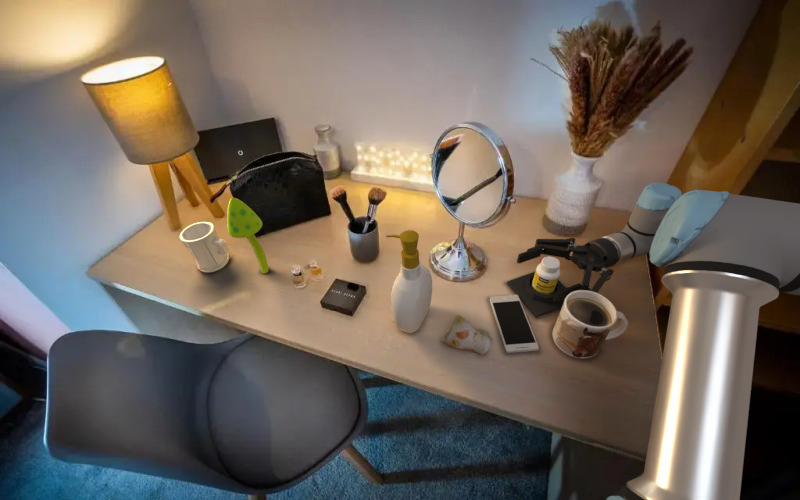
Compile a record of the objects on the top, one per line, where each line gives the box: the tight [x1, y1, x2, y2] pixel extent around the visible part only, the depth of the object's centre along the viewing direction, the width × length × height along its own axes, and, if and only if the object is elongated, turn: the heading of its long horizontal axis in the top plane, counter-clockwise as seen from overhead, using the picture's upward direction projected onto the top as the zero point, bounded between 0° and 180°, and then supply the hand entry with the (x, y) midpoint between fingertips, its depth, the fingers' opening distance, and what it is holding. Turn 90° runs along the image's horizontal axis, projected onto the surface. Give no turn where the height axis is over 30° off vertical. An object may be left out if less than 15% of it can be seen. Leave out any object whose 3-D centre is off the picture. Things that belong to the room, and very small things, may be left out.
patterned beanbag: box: [443, 314, 492, 355], centre depth 77 cm, size 8×10×10 cm
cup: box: [178, 221, 230, 273], centre depth 100 cm, size 10×9×12 cm
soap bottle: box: [385, 229, 433, 334], centre depth 76 cm, size 14×9×26 cm, turn 158°
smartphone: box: [489, 294, 540, 354], centre depth 82 cm, size 7×15×1 cm, turn 3°
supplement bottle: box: [531, 255, 561, 296], centre depth 85 cm, size 5×5×10 cm
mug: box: [551, 290, 629, 359], centre depth 74 cm, size 10×12×11 cm
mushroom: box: [226, 197, 269, 274], centre depth 92 cm, size 8×8×25 cm
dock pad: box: [506, 271, 567, 319], centre depth 87 cm, size 12×12×3 cm
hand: (535, 276), depth 83 cm, fingers open, 13 cm apart
